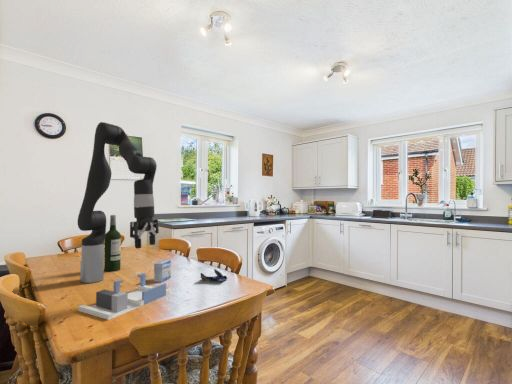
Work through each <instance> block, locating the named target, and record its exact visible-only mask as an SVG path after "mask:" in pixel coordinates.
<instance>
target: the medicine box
mask: <svg viewBox="0 0 512 384" xmlns="http://www.w3.org/2000/svg"><path fill="white" fill-rule="evenodd" d="M171 263H172V262H171V260H169V259H162V260H161V261H158V262H155V263H154V264H153V266H154V267H153V272H154V273H153V275H154V276H153V278H154V279H153V281H154V282H155V283H165V281H167V280H169V279H171V276H172V272H171V271H172V270H171V269H172V268H171V267H172V266H171V265H172V264H171Z"/></svg>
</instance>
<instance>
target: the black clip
mask: <svg viewBox="0 0 512 384" xmlns="http://www.w3.org/2000/svg"><path fill="white" fill-rule="evenodd" d="M213 271H214V273H215V276H207V275H205V274H204V273H202V272H201V273H200V279H201V281H204V280H205V281H208V282H211V283H212V282H215V283H216V282H218V283H222V282H225V281H227V280H228V277H227V275H223V274H222V272H220V271H219V270H217V269H215V268H213Z"/></svg>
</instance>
